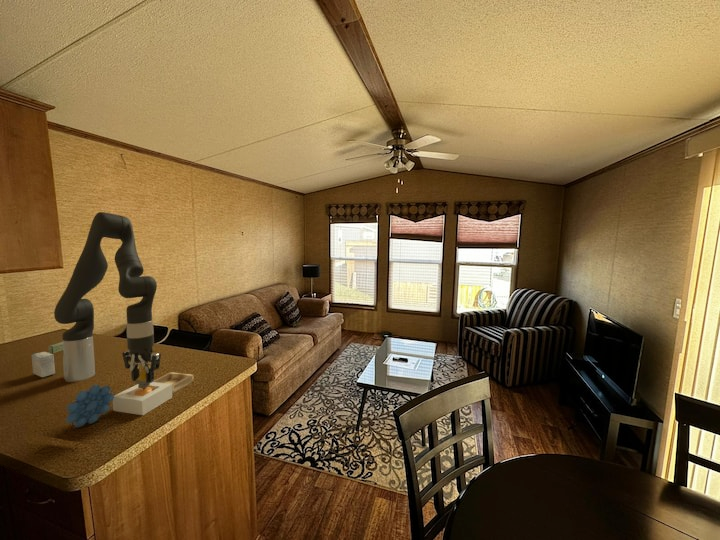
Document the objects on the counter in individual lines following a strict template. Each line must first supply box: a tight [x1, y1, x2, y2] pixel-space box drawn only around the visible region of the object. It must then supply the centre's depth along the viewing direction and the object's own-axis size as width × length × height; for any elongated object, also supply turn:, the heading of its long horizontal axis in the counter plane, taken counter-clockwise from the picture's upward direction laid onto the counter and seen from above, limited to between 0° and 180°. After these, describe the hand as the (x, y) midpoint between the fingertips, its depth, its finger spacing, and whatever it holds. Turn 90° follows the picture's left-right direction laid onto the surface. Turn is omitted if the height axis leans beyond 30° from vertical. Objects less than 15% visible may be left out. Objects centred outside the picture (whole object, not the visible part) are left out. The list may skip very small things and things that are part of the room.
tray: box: [154, 371, 195, 395], centre depth 120 cm, size 11×11×3 cm
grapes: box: [65, 384, 115, 428], centre depth 96 cm, size 12×7×12 cm, turn 145°
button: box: [135, 387, 152, 396], centre depth 107 cm, size 5×5×4 cm
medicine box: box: [31, 351, 56, 378], centre depth 129 cm, size 8×4×9 cm, turn 65°
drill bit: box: [134, 361, 155, 390], centre depth 107 cm, size 5×5×10 cm
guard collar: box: [112, 382, 173, 416], centre depth 107 cm, size 12×12×5 cm
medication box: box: [47, 341, 63, 354], centre depth 158 cm, size 12×3×4 cm, turn 168°
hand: (142, 380), depth 107 cm, fingers closed on drill bit, 5 cm apart
